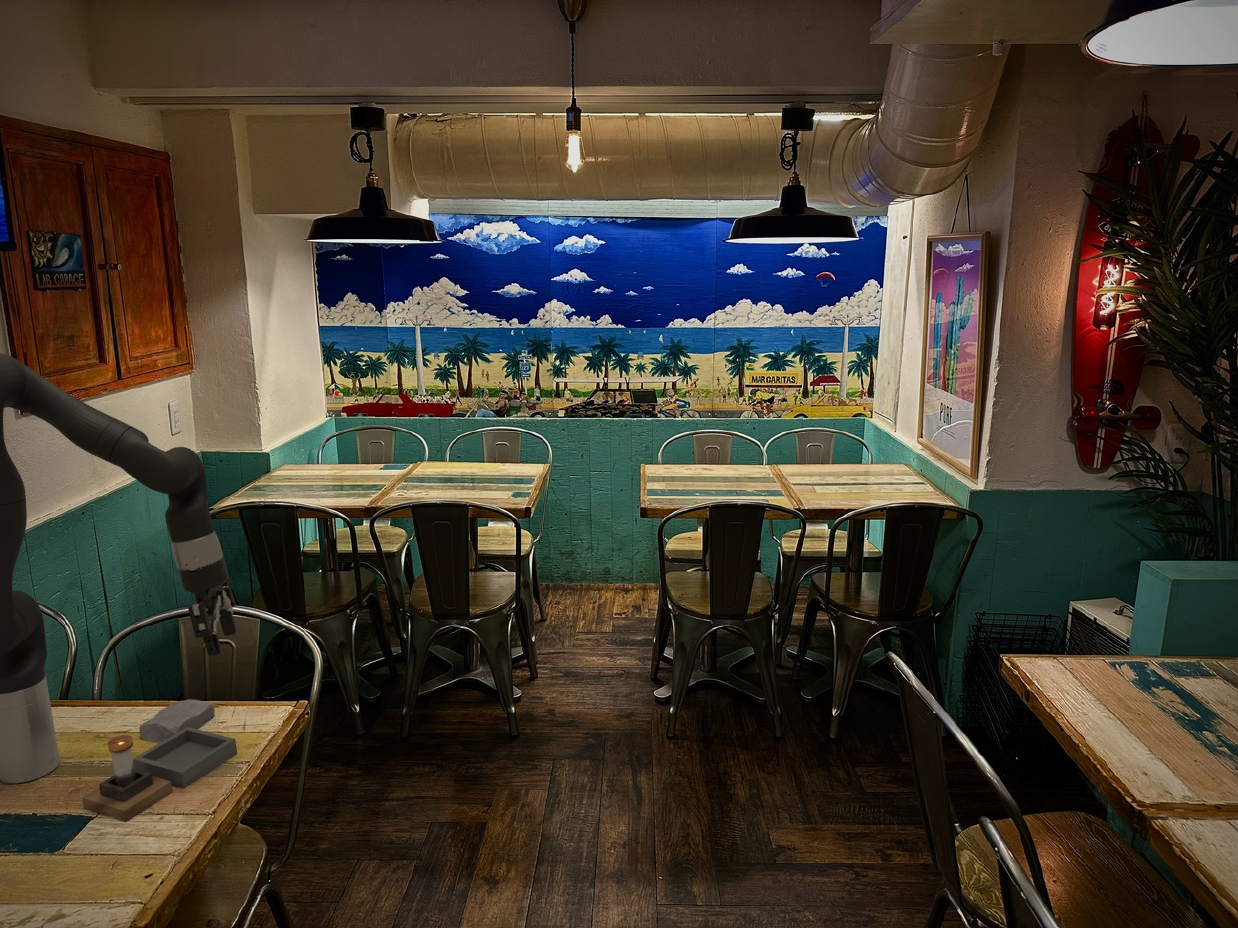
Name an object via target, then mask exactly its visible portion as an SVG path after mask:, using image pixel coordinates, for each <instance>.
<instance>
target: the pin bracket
mask: <svg viewBox="0 0 1238 928" xmlns="http://www.w3.org/2000/svg"><path fill="white" fill-rule="evenodd" d="M135 775H136V781H134V782H132V783H131V784H129V785H127V786H126V787H124V788H123V787H119V786H116V781H115V774H114V775H112V776H111V777H109V778H107V779H106V780H104V781H102V782H100V783H99V786H98V788H96V789H94V790H93V791H91V792H89V793H87V794H85V795H84V796H82V798H81V799H82V805H83V809H85V810H88V811H92V812H95V813H98V814H101V815H104V816H108V817H110V818H114V819H116V820H119V821H122V822H128V821H130V820H131V819H134V817H136V816H138V815H139V814H141V813H143V812H144V811H146V810H147V809H148V808H150V807H152V806H153V805H154V804H156V803H157V802H160V801H161V800H162V799H164V798H166V797H167V796H168V795H170V794H171V793H173V785H172V784H171V781H168V780H164V779H161V778H157V777H154V776H152V774H151V773H148V772H144V771H141V770H137V769H135Z"/></svg>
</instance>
